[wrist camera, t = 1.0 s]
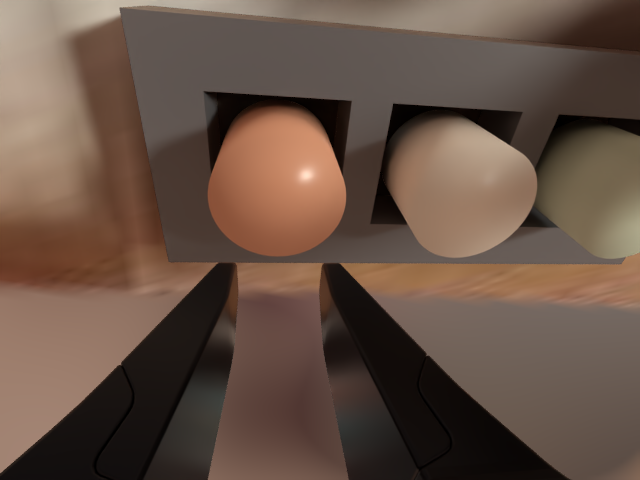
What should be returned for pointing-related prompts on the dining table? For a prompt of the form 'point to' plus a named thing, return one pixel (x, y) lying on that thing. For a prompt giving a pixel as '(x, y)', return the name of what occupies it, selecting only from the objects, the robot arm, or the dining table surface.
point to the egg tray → (356, 117)
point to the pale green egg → (592, 186)
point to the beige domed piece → (457, 183)
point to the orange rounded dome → (276, 180)
